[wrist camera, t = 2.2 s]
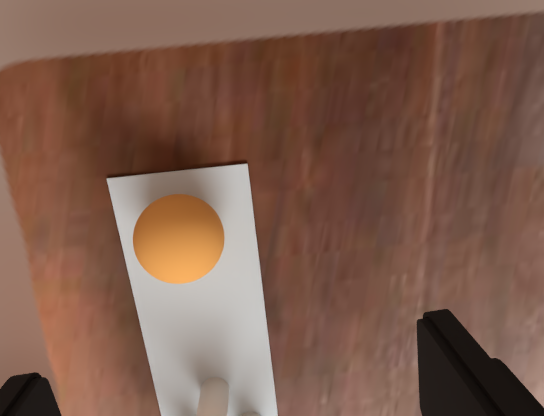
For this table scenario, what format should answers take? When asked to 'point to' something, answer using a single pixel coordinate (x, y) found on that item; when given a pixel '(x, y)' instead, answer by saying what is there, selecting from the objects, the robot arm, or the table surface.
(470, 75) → the table surface
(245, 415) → the pin
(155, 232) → the ball
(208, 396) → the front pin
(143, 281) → the plate
